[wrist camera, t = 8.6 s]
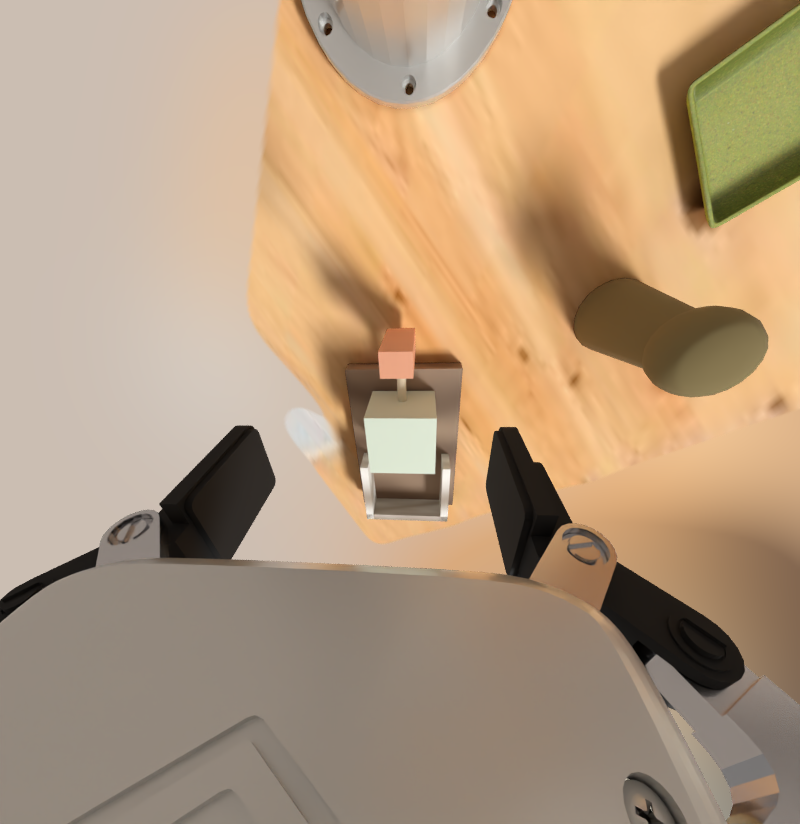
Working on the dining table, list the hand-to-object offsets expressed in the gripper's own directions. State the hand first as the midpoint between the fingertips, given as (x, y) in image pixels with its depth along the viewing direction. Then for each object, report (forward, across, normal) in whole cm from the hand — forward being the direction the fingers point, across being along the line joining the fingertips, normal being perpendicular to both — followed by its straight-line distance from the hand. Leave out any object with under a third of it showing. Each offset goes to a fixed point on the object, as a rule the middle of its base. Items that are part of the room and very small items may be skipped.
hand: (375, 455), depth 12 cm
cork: (+18, -18, -1) cm, 25 cm away
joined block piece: (+16, 0, +5) cm, 17 cm away
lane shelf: (+18, 0, +12) cm, 21 cm away
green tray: (+19, -23, -13) cm, 32 cm away
